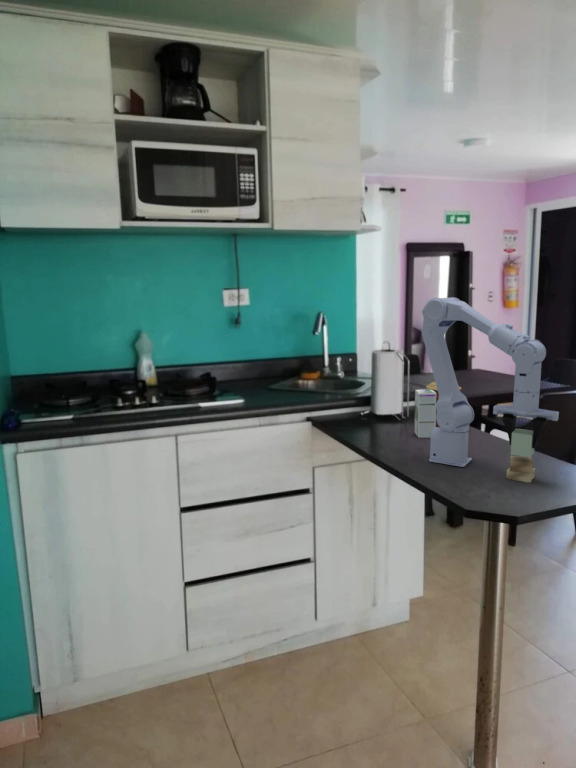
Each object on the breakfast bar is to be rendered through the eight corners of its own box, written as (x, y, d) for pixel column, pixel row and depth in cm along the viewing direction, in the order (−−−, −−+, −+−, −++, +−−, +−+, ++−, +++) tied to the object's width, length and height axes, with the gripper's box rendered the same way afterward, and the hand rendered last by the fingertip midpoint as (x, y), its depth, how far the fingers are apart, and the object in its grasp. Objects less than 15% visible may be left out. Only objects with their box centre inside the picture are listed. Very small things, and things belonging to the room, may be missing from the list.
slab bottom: (506, 480, 138) (506, 470, 138) (511, 474, 143) (511, 464, 142) (530, 484, 135) (530, 474, 135) (534, 478, 140) (535, 468, 139)
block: (510, 454, 137) (511, 432, 136) (514, 449, 140) (515, 428, 139) (530, 457, 134) (531, 435, 133) (533, 452, 138) (535, 430, 137)
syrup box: (435, 437, 176) (437, 392, 173) (416, 437, 176) (418, 392, 173) (431, 433, 181) (433, 389, 179) (413, 433, 181) (414, 389, 179)
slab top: (509, 471, 137) (510, 461, 137) (509, 465, 142) (510, 455, 141) (532, 473, 135) (532, 463, 135) (531, 467, 140) (532, 457, 139)
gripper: (491, 390, 136) (488, 445, 138) (557, 396, 128) (552, 454, 130) (498, 386, 141) (495, 438, 144) (561, 392, 134) (557, 447, 136)
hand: (523, 445), depth 137 cm, fingers closed on block, 4 cm apart
